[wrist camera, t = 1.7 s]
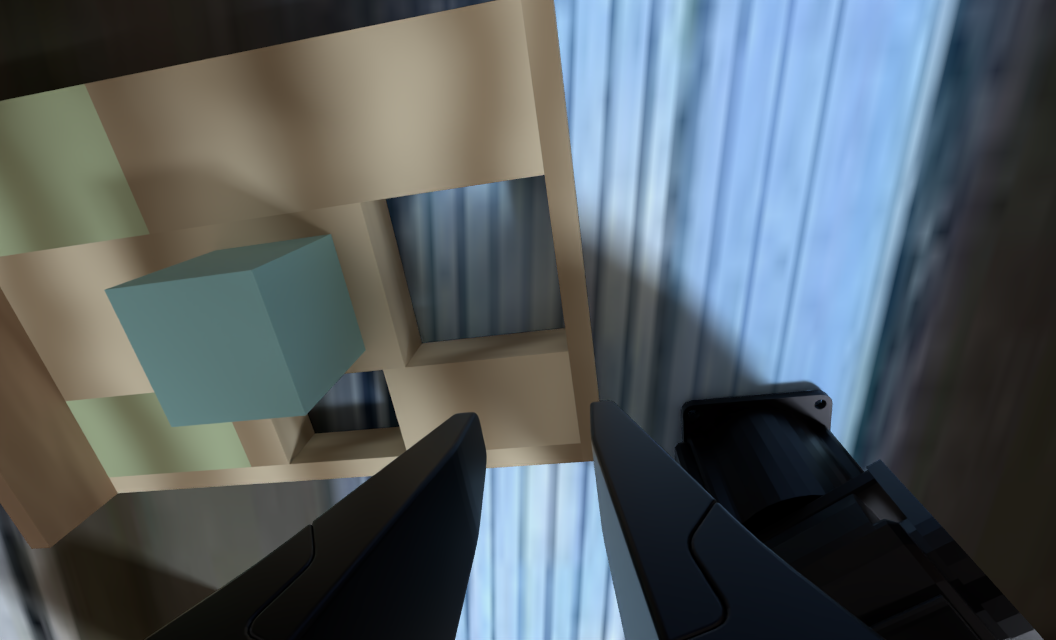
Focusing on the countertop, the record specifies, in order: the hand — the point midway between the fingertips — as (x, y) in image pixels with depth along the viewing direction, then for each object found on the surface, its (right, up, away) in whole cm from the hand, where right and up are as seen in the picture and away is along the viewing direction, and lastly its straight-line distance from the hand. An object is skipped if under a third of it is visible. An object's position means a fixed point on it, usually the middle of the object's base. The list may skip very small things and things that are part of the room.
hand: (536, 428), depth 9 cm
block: (-10, +3, +11) cm, 15 cm away
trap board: (-11, +4, +14) cm, 18 cm away
